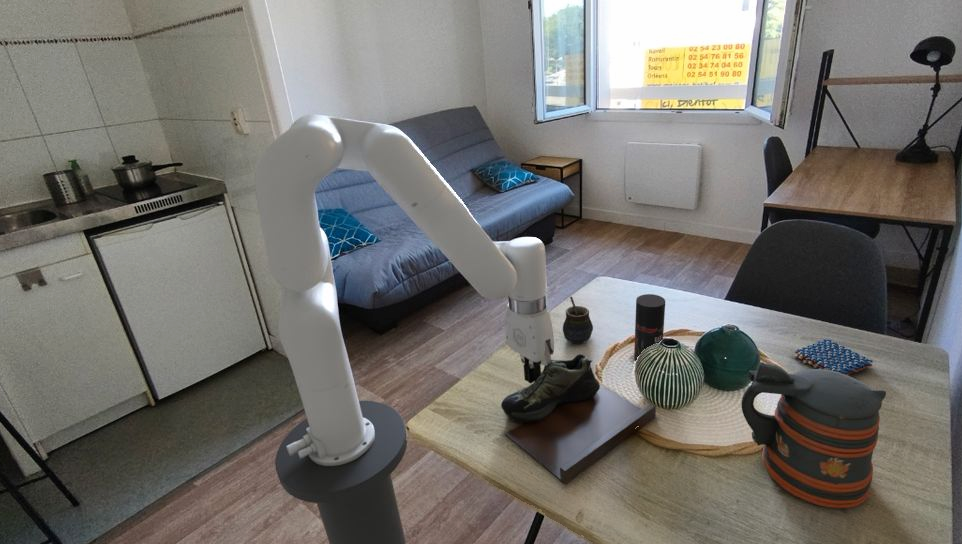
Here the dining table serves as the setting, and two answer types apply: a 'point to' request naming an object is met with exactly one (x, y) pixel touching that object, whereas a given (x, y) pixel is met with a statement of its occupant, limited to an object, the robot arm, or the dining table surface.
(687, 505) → the dining table surface
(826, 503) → the beer stein
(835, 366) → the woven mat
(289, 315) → the robot arm
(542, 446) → the shoe shelf
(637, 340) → the deodorant
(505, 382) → the dining table surface
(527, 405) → the hiking shoe
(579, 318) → the mate gourd
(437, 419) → the dining table surface
